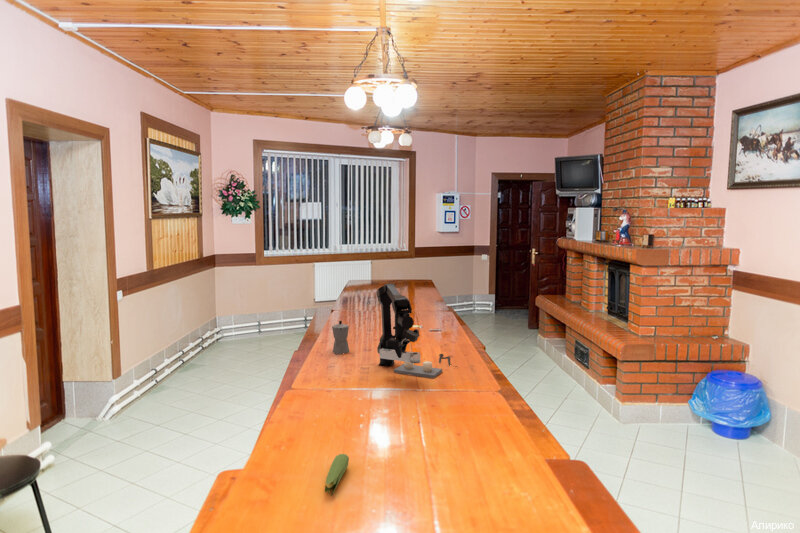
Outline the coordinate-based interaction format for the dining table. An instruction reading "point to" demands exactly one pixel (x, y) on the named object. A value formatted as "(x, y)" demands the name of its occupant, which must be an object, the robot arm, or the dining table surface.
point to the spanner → (405, 356)
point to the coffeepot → (340, 338)
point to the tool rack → (418, 370)
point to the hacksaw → (444, 358)
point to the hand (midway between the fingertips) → (401, 357)
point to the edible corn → (336, 472)
